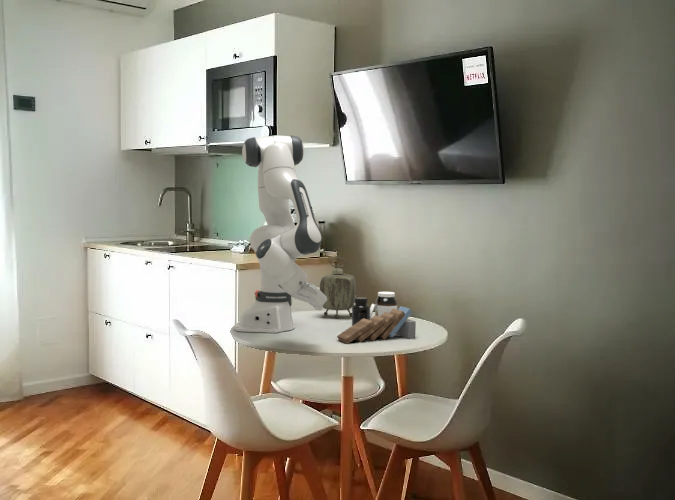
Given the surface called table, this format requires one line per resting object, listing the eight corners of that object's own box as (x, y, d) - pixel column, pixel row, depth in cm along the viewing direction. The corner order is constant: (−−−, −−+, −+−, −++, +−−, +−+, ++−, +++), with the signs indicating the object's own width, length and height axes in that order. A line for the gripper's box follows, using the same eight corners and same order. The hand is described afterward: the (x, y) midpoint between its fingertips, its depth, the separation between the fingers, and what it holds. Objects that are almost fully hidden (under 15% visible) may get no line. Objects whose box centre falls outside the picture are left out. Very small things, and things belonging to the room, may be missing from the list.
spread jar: (399, 323, 269) (399, 294, 269) (372, 324, 266) (373, 295, 265) (388, 318, 281) (389, 290, 280) (362, 319, 278) (363, 290, 277)
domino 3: (370, 337, 234) (394, 314, 238) (361, 334, 239) (384, 312, 243) (373, 341, 235) (396, 318, 239) (364, 337, 240) (387, 315, 244)
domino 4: (381, 336, 236) (402, 310, 240) (372, 333, 241) (393, 308, 245) (384, 339, 237) (405, 314, 240) (375, 336, 242) (395, 311, 246)
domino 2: (358, 338, 232) (384, 318, 236) (349, 335, 237) (374, 315, 241) (360, 342, 232) (386, 322, 237) (351, 339, 237) (376, 319, 242)
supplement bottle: (372, 328, 257) (373, 297, 256) (365, 332, 250) (366, 299, 250) (355, 327, 259) (356, 296, 259) (348, 330, 253) (349, 298, 252)
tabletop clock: (355, 316, 284) (357, 256, 282) (353, 320, 275) (354, 258, 273) (321, 314, 286) (322, 255, 284) (318, 318, 277) (319, 257, 275)
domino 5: (389, 334, 238) (410, 308, 241) (380, 331, 243) (400, 306, 246) (392, 337, 238) (412, 311, 242) (383, 334, 244) (403, 309, 247)
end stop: (408, 338, 239) (408, 322, 239) (392, 333, 248) (392, 317, 248) (415, 338, 241) (415, 321, 240) (399, 333, 250) (399, 316, 249)
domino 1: (345, 339, 229) (372, 321, 234) (336, 336, 234) (363, 318, 239) (347, 343, 230) (374, 325, 234) (338, 340, 235) (365, 322, 240)
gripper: (314, 277, 213) (341, 306, 219) (287, 270, 231) (312, 297, 237) (302, 291, 211) (328, 320, 217) (275, 284, 229) (300, 310, 235)
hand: (320, 308), depth 227 cm, fingers closed
